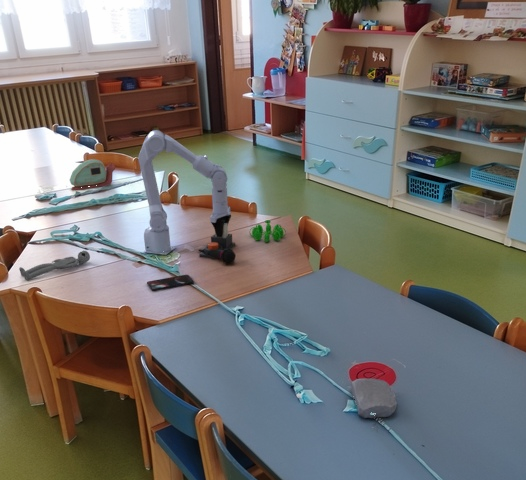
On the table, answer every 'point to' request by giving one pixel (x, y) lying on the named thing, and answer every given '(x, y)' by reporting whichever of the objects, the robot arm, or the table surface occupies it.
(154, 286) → the smartphone
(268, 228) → the chandelier
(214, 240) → the socket
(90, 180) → the toy snail
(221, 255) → the microphone
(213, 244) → the power button
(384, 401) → the stone block
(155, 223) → the robot arm
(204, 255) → the adapter
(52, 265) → the alien figure
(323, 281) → the table surface
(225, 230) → the block
